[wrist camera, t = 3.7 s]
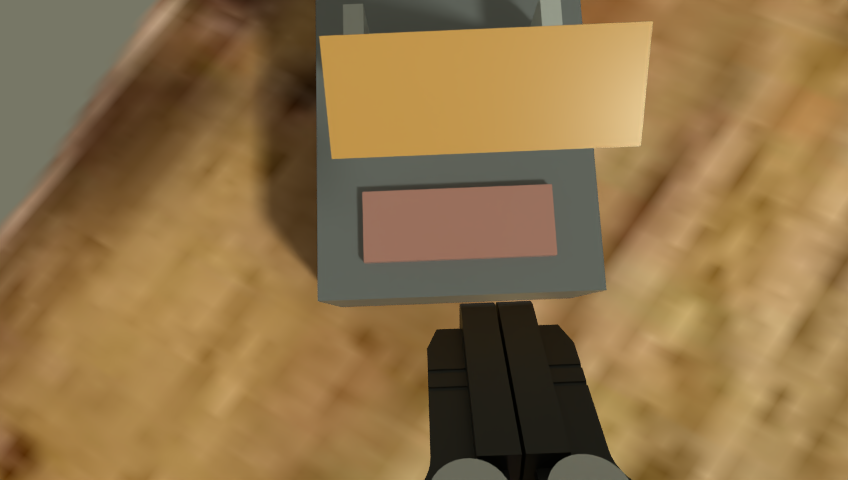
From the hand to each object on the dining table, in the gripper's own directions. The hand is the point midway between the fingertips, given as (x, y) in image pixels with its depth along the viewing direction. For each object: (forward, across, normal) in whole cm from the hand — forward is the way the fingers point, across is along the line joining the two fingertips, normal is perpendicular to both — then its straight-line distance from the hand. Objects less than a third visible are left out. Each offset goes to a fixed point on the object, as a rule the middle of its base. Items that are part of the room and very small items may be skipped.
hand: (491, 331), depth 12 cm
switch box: (+20, 0, +4) cm, 20 cm away
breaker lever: (+15, 0, -1) cm, 15 cm away
